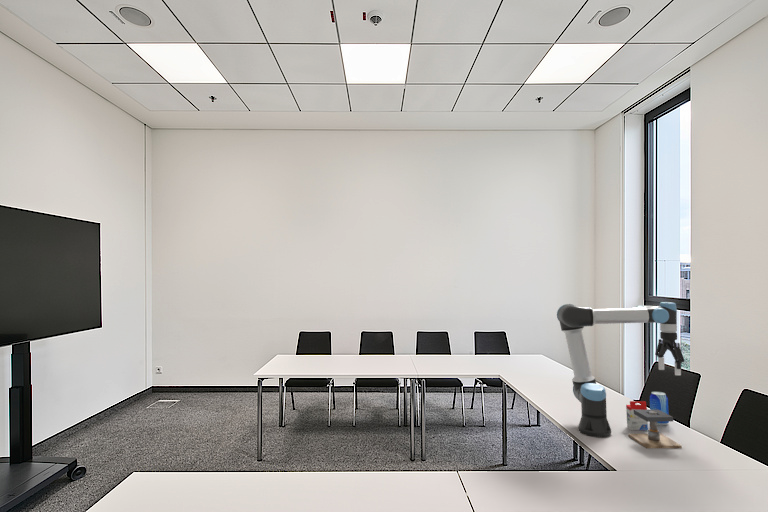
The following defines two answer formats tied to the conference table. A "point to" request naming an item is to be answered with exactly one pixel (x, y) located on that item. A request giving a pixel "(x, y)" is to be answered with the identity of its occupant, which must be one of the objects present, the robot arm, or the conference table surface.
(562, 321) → the robot arm
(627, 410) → the ink box
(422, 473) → the conference table surface
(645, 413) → the square holed plate
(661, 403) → the beer can
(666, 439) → the pipe stand
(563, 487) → the conference table surface
